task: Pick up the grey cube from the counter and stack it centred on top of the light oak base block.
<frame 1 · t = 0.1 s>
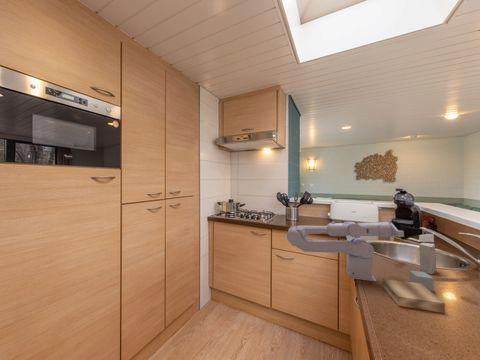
hand: (416, 229, 77), 22 cm above the counter, tool horizontal, fingers open, 7 cm apart
skincare box: (427, 271, 87), on the counter
grey cube: (421, 287, 74), on the counter
oak base: (410, 298, 66), on the counter
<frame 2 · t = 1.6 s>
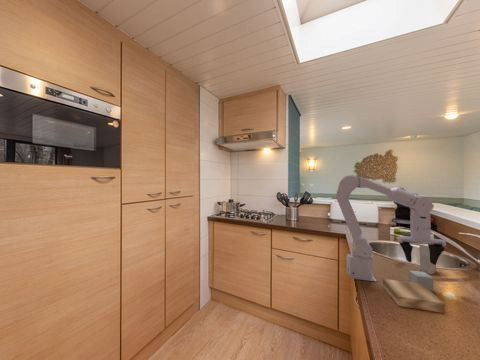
hand: (420, 262, 74), 9 cm above the counter, tool pointing down, fingers open, 7 cm apart
nothing on the counter moved.
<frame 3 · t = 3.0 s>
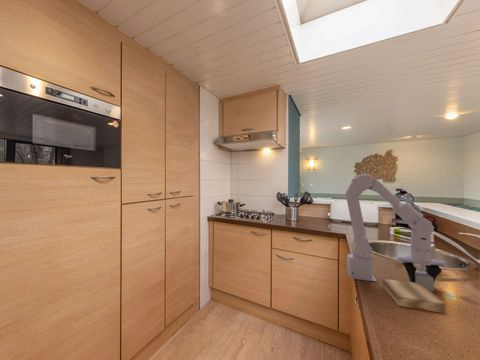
hand: (421, 283, 74), 1 cm above the counter, tool pointing down, fingers closed on grey cube, 5 cm apart
grey cube: (421, 286, 74), on the counter, touching gripper
everything else where it was.
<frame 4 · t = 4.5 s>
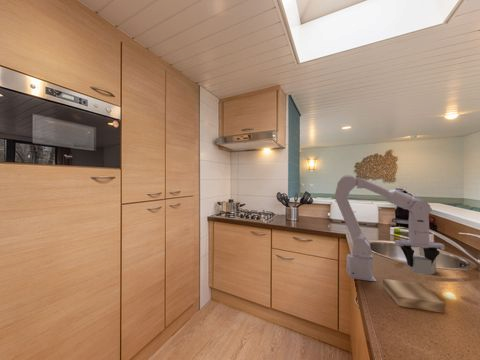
hand: (418, 266, 73), 8 cm above the counter, tool pointing down, fingers closed on grey cube, 5 cm apart
grey cube: (419, 270, 73), point 7 cm above the counter, touching gripper
everything else where it was.
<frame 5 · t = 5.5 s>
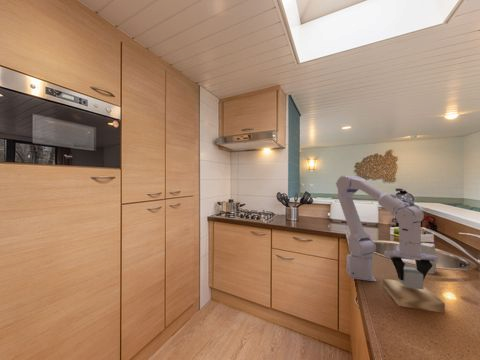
hand: (410, 280, 67), 6 cm above the counter, tool pointing down, fingers closed on grey cube, 5 cm apart
grey cube: (410, 284, 67), point 5 cm above the counter, touching gripper
everything else where it was.
when the fingers open (6 cm above the counter, at t = 6.1 s): grey cube drops 1 cm, resting on oak base.
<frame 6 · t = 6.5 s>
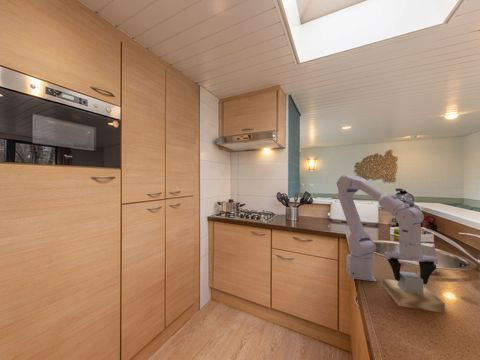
hand: (410, 281, 67), 6 cm above the counter, tool pointing down, fingers open, 7 cm apart
grey cube: (410, 289, 67), point 3 cm above the counter, touching oak base
everything else where it was.
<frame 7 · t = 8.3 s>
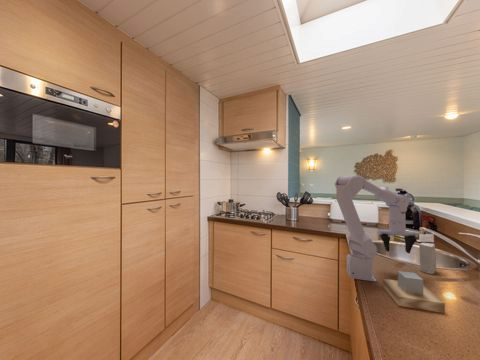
hand: (397, 251, 85), 9 cm above the counter, tool pointing down, fingers open, 7 cm apart
nothing on the counter moved.
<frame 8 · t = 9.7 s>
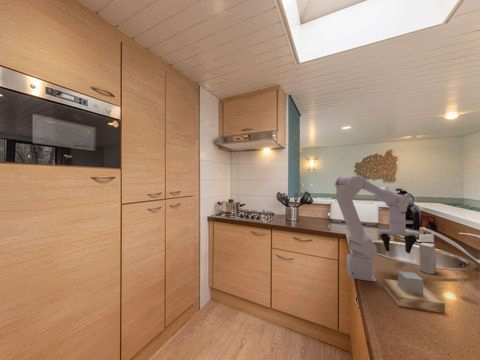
hand: (397, 251, 85), 9 cm above the counter, tool pointing down, fingers open, 7 cm apart
nothing on the counter moved.
at the end: grey cube 0.1 cm off-centre on the oak base, point 3.0 cm above the oak base's base; grey cube tilted 0°; the gripper is holding nothing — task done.
